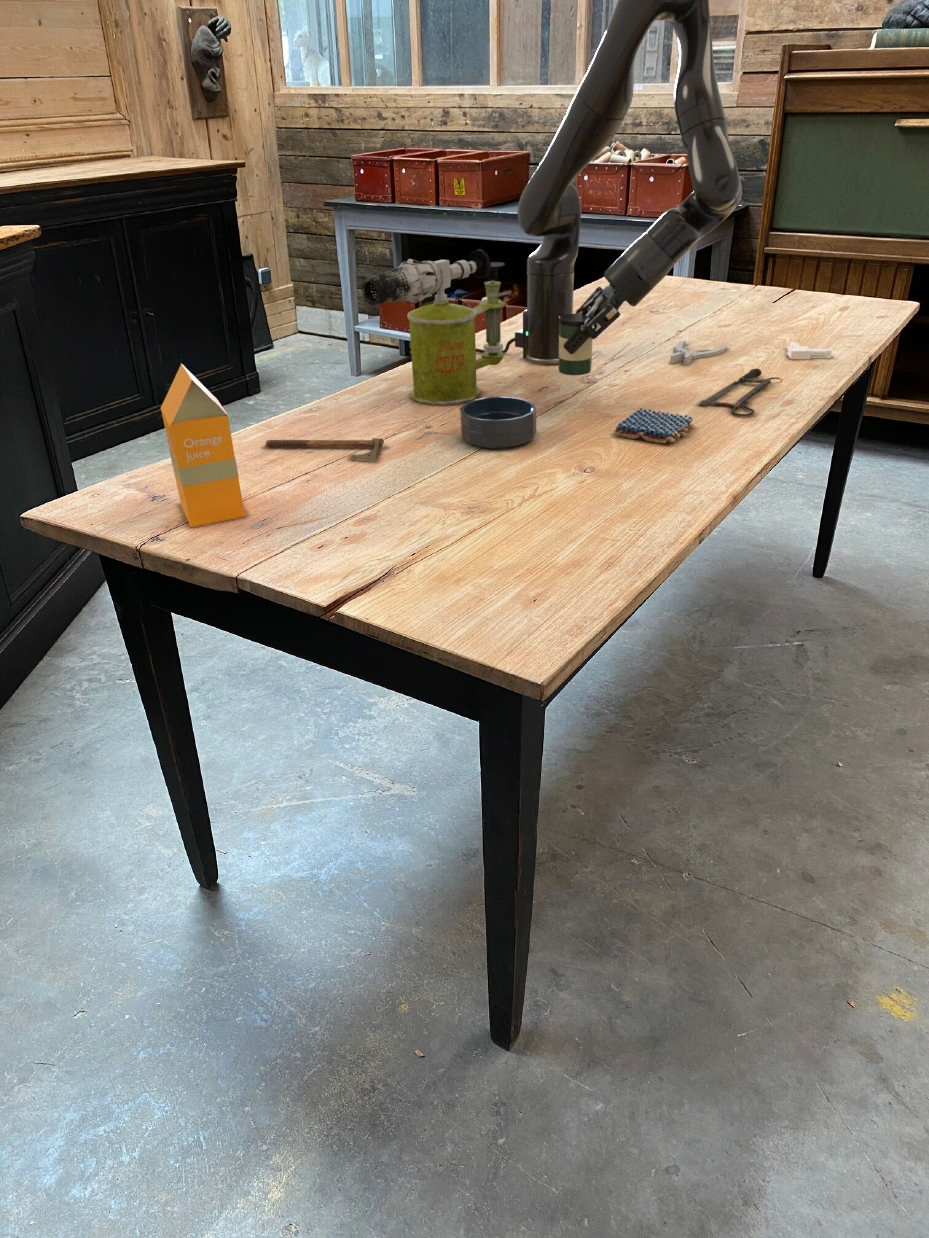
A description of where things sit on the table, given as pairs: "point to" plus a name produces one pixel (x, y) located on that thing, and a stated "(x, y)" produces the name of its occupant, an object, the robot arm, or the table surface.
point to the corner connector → (806, 352)
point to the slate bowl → (498, 422)
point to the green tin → (583, 356)
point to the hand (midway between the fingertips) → (565, 345)
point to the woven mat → (654, 426)
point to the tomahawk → (369, 457)
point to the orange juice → (201, 452)
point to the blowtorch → (443, 324)
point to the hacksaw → (745, 398)
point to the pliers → (688, 355)
